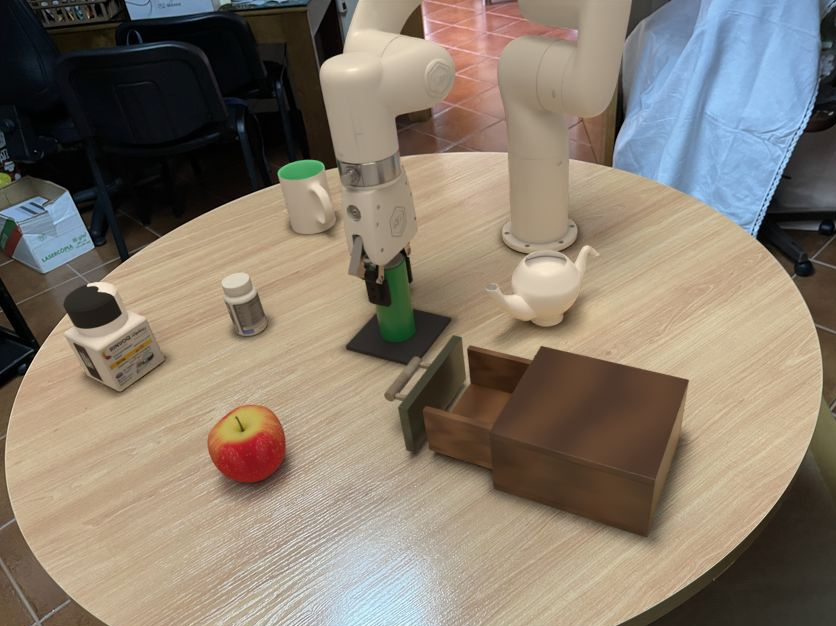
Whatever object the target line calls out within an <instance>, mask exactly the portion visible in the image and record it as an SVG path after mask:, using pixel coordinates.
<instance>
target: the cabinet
mask: <svg viewBox="0 0 836 626" xmlns="http://www.w3.org/2000/svg"><path fill="white" fill-rule="evenodd" d="M531 360H532V362H531V363H530V365H529V367H528V368H527V370H526V372H525V373H524V375H523V377H522V378H521V380H520V382H519V383H518V385H517V387H516V388H515V390H514V392H513V393H512V395H511V397H510V398H509V400H508V402H507V403H506V405H505V406H504V408H503V410H502V411H501V413H500V415H499V416H498V418H497V420H496V421H495V423H494V425H493V426H492V428H491V430H490V431H489V437H490V448H491V461H492V469H491V472H492V482H493V483H492V484H493V486H492V487H493V489H496V490H499V491H502V492H505V493H507V494H511V495H514V496H516V497H519V498H523V499H527V500H529V501H533V502H536V503H539V504H542V505H545V506H548V507H551V508H554V509H558V510H560V511H564V512H567V513H570V514H573V515H576V516H579V517H583V518H586V519H588V520H592V521H595V522H598V523H601V524H604V525H607V526H610V527H614V528H616V529H619V530H623V531H626V532H629V533H632V534H635V535H639V536H642V537H644V538H648V536H649V533H650V530H651V527H652V524H653V521H654V517H655V514H656V510H657V508H658V505H659V502H660V499H661V496H662V492H663V490H664V487H665V484H666V480H667V477H668V475H669V471H670V468H671V466H672V461H673V458H674V456H675V452H676V449H677V446H678V443H679V440H680V437H681V432H682V427H683V426H682V425H683V420H684V413H685V408H686V400H687V395H688V390H689V389H688V388H689V384H690V379H688V378H683V377H680V376H675V375H671V374H666V373H661V372H658V371H652V370H648V369H645V368H640V367H637V366H636V367H635V366H631V365H627V364H622V363H618V362H613V361H609V360H605V359H601V358H596V357H591V356H588V355H584V354H579V353H578V354H577V353H574V352H570V351H567V350H566V351H565V350H563V349H562V350H561V349H557V348H552V347H549V346H548V347H547V346H544V345H540V347H539V348H538V350H537V351H536V353H535V355H534V356H533V358H532V359H531Z"/></svg>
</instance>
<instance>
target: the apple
mask: <svg viewBox="0 0 836 626" xmlns="http://www.w3.org/2000/svg"><path fill="white" fill-rule="evenodd" d="M286 442H287V441H286V435H285V430H284V427H283V425H282V423H281V420H280V419H279V417H278V416H277V415H276V414H275V412H273V411H272V409H270V408H268V407H266V406H263V405H259V404H244V405H241V406H238V407H235V408H234V409H232V410H231V411H229V412H228V413H227V414H225V415H224V416H223V417H222V418H221V419H219V420H218V421H217V423H216V424H215V425H214V426H213V427H212V428H211V430H210V431H209V434H208V436H207V449H208V454H209V457H210V459H211V461H212V463H213V464H214V466H215V468H216V469H217V470H218V472H220V473H221V474H222V475H224V476H225V477H227V478H229V479H230V480H232V481H235V482H241V483H257V482H261V481H263V480H266V478H268V477H269V476H271V475H272V474H273V473H274V472H275V471H277V469H278V468H279V467H280V465H281V464H282V462H283V460H284V456H285V454H286V448H287V447H286V446H287V445H286V444H287V443H286Z"/></svg>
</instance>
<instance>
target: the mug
mask: <svg viewBox="0 0 836 626" xmlns="http://www.w3.org/2000/svg"><path fill="white" fill-rule="evenodd" d="M277 177H278V181H279V184H280V188H281V191H282V196H283V199H284V203H285V207H286V211H287V215H288V218H289V222H290V225H291V228H292V230H293V232H295V233H297V234H299V235H300V234H301V235H314V234H319V233H320V234H321V233H322V232H325V231H327V230H330V229H331V228H332V227H333V226H334V225H335V224H336V222H337V218H336V214H335V209H334V204H333V199H332V196H331V191H330V185H329V182H328V177H327V173H326V168H325V164H324V163H323V162H322V161H319V160H314V159H304V160H303V159H302V160H296V161H294V162H290V163H288V164H286V165H284V166H282V167H280V168H279V169H278V171H277Z"/></svg>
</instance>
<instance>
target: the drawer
mask: <svg viewBox="0 0 836 626" xmlns="http://www.w3.org/2000/svg"><path fill="white" fill-rule="evenodd" d="M463 344H464V343H463V337H462V336H459V335H455V334H453V335H452V336H451V337H450V338H449V339H448V341H447V343H446V344H444V346H443V348H442V349H441V350H440V351H439V353H438V354H437V355H436V357H435V358H434V360H433V361H432V362H431V363H429V362H425V361H423V360H422V358H421V359H420V358H419V357H413V358H412V360H411V361H410V362H409V363H408V365H405V367H404V368H403V370H402V371H401V372H400V373H399V374H398V375H397V376H396V378H395V379H394V381H393V382H392V383H391V384H390V386H389V387H388V388H387V390H386V391H385V392H384V394H383V397H384V399H385V400H386V401H389V403H390V402H391V403H393V402H394V401H395V400H397V401H400V402H401V403H400V404H399V405H398V407H397V410H398V415H399V421H400V425H401V430H402V436H403V440H404V446H405V450H406V451H407V452H410V453H413V454H416V453H417V451H418V450H419V449H420V447H421V446H422V444H423V443H424V441H425V440H426V439H427V444H428V450H429V451H432V452H436V453H438V454H442V455H446V456H448V457H452V458H455V459H458V460H461V461H464V462H468V463H470V464H474V465H477V466H480V467H484V468H488V469H490V470H492V461H491V448H490V437H489V431H490V430H491V428H492V426H493V425H494V423H495V421H496V420H497V418H498V416H499V415H500V413H501V411H502V410H503V408H504V406H505V405H506V403H507V402H508V400H509V398H510V397H511V395H512V393H513V392H514V390H515V388H516V387H517V385H518V383H519V382H520V380H521V378H522V377H523V375H524V373H525V372H526V370H527V368H528V367H529V365H530V363H531V362H532V360H533V359H530V358H527V357H526V358H525V357H522V356H518V355H513V354H508V353H504V352H501V351H496V350H491V349H488V348H483V347H479V346H475V345H471V344H470V345H468V347H467V348H466V353H467V362H468V372H469V384H468V386H467V388H465V390H464V391H463V393H462V394H461V396H460V398H459V399H458V400H457V402H456V404H455V405H454V407H453V408H452V409H451V411H450V412H449V411H446V409H447V408H448V406H449V405H450V404H451V402H452V401H453V399H454V398H455V396H456V395H457V393H458V392H459V390H460V389H461V388H462V386H463V385H464V384H465V382H466V380H467V375H466V366H465V356H464V348H463V347H464V345H463ZM419 369H423V370H425V371H424V372H423V374H422V375H421V376H420V378H419V379H418V380H417V381H416V383H415V384H414V385H413V387H412V388H411V389H410V391H409V392H408V393H407V394H403V393H401V392H403V390H404V389H405V387H406V386H407V385H408V384H409V382H411V379H412V378H413V376H415V374H416V373H417V372H418V370H419Z"/></svg>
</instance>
